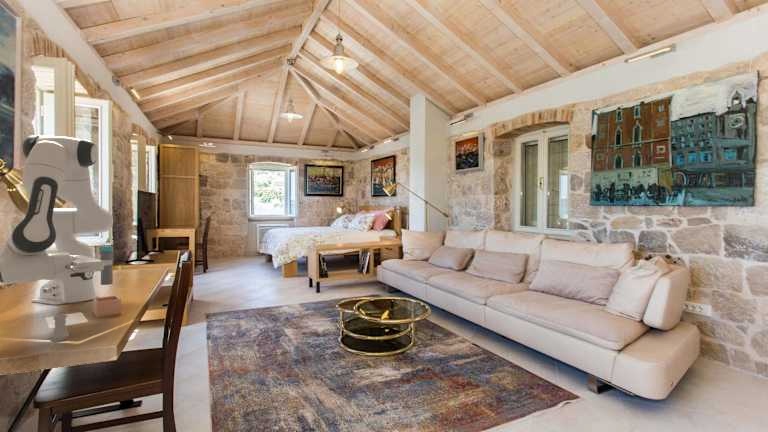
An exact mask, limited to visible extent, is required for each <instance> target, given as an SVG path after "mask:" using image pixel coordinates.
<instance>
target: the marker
mask: <svg viewBox="0 0 768 432" xmlns="http://www.w3.org/2000/svg"><path fill="white" fill-rule="evenodd" d="M99 249H100V250H99V252H100V259H101V260H113V261H114V254H113V253H114V245H101V246H100V248H99ZM113 264H114V263H113ZM113 264H112V265H106V266H104V269H103V270H102V271H100V285H101V286H108V285H109V286H110V285H113V284H114V277H113V276H114V267H113V266H114V265H113Z"/></svg>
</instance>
